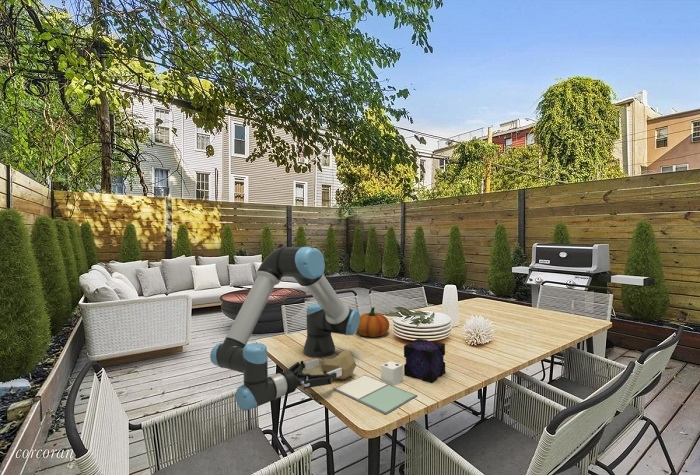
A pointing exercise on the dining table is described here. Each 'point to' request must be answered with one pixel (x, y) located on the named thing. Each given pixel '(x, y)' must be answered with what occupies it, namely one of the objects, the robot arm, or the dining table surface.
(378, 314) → the pumpkin
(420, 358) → the energy cube
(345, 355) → the low-poly potato
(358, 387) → the game board
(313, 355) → the robot arm
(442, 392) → the dining table surface
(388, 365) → the die
